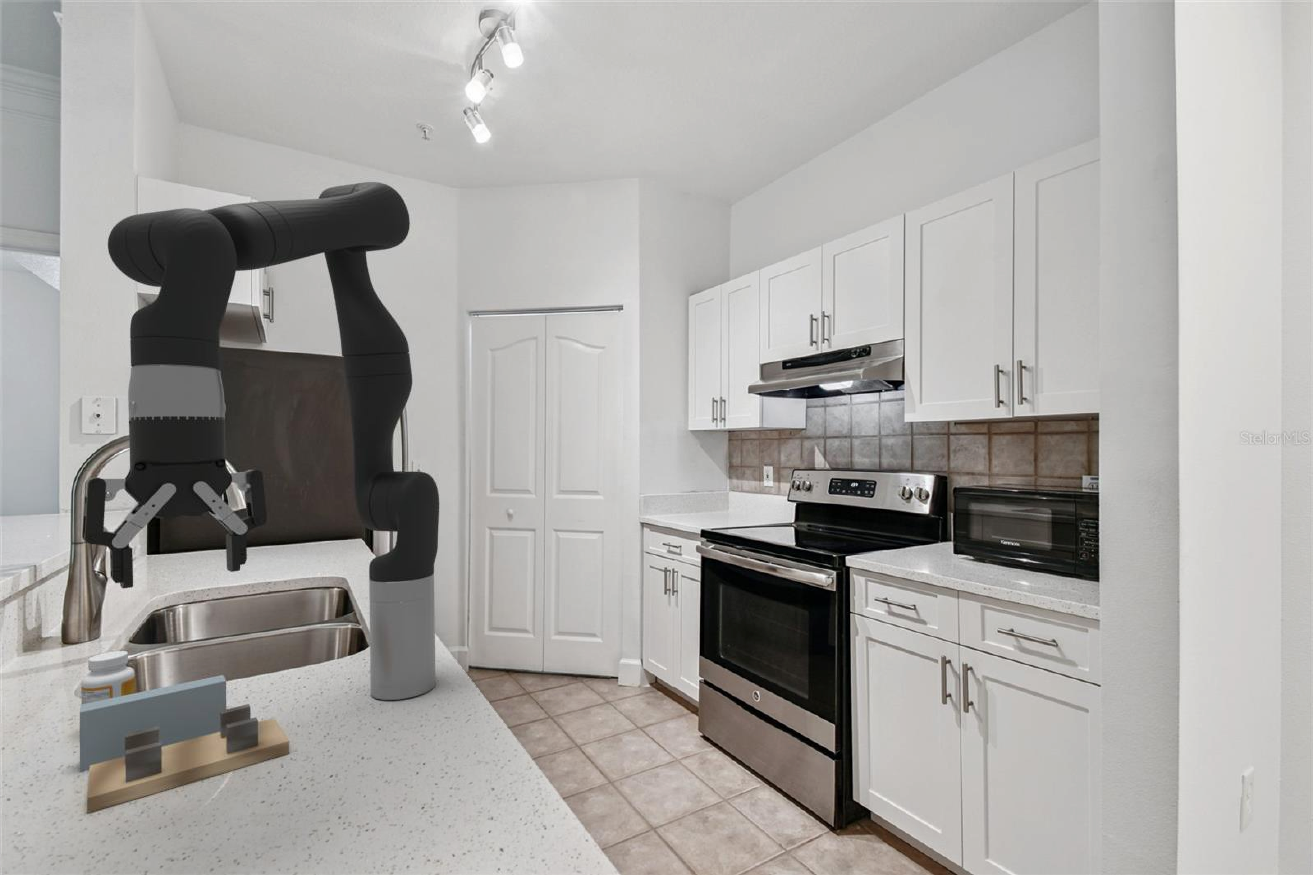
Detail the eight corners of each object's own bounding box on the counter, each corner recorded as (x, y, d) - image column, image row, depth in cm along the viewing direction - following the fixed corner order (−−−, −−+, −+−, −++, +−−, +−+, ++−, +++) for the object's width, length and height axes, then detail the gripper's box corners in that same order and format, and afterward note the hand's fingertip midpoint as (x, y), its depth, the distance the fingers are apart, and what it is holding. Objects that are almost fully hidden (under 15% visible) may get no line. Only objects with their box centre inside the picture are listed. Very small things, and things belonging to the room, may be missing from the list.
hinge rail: (274, 729, 82) (274, 694, 82) (289, 753, 75) (288, 715, 75) (89, 779, 70) (89, 738, 70) (87, 813, 63) (87, 768, 63)
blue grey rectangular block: (223, 727, 83) (223, 674, 83) (226, 735, 81) (226, 680, 81) (81, 763, 74) (80, 704, 74) (79, 773, 71) (79, 712, 72)
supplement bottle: (125, 716, 87) (125, 646, 87) (142, 724, 84) (141, 652, 84) (74, 732, 82) (74, 658, 82) (90, 741, 79) (90, 665, 79)
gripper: (250, 416, 69) (254, 562, 69) (75, 415, 58) (80, 587, 58) (272, 413, 64) (276, 570, 64) (85, 412, 53) (90, 599, 53)
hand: (182, 578), depth 61 cm, fingers open, 8 cm apart
